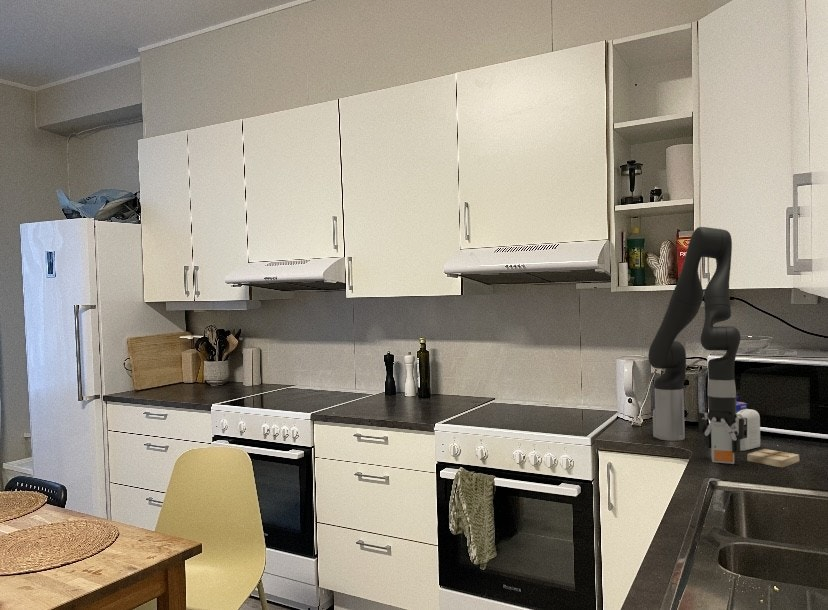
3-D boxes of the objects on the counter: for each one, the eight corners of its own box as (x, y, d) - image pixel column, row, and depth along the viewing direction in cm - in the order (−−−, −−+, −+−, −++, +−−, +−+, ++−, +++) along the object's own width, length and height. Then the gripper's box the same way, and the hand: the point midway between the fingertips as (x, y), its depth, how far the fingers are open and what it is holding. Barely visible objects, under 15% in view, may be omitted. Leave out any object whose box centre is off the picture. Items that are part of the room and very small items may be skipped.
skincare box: (712, 462, 192) (711, 422, 192) (711, 459, 196) (710, 419, 196) (735, 464, 190) (734, 423, 190) (733, 460, 194) (733, 420, 194)
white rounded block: (749, 444, 213) (748, 406, 213) (762, 447, 209) (761, 408, 209) (731, 449, 207) (730, 410, 207) (744, 452, 204) (743, 412, 203)
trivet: (747, 460, 193) (747, 453, 193) (764, 455, 199) (764, 447, 199) (782, 467, 185) (782, 459, 185) (799, 461, 191) (799, 453, 191)
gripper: (691, 393, 196) (692, 448, 196) (738, 398, 185) (740, 457, 185) (705, 390, 201) (707, 444, 201) (752, 395, 189) (753, 452, 189)
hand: (722, 450), depth 193 cm, fingers closed on skincare box, 7 cm apart
